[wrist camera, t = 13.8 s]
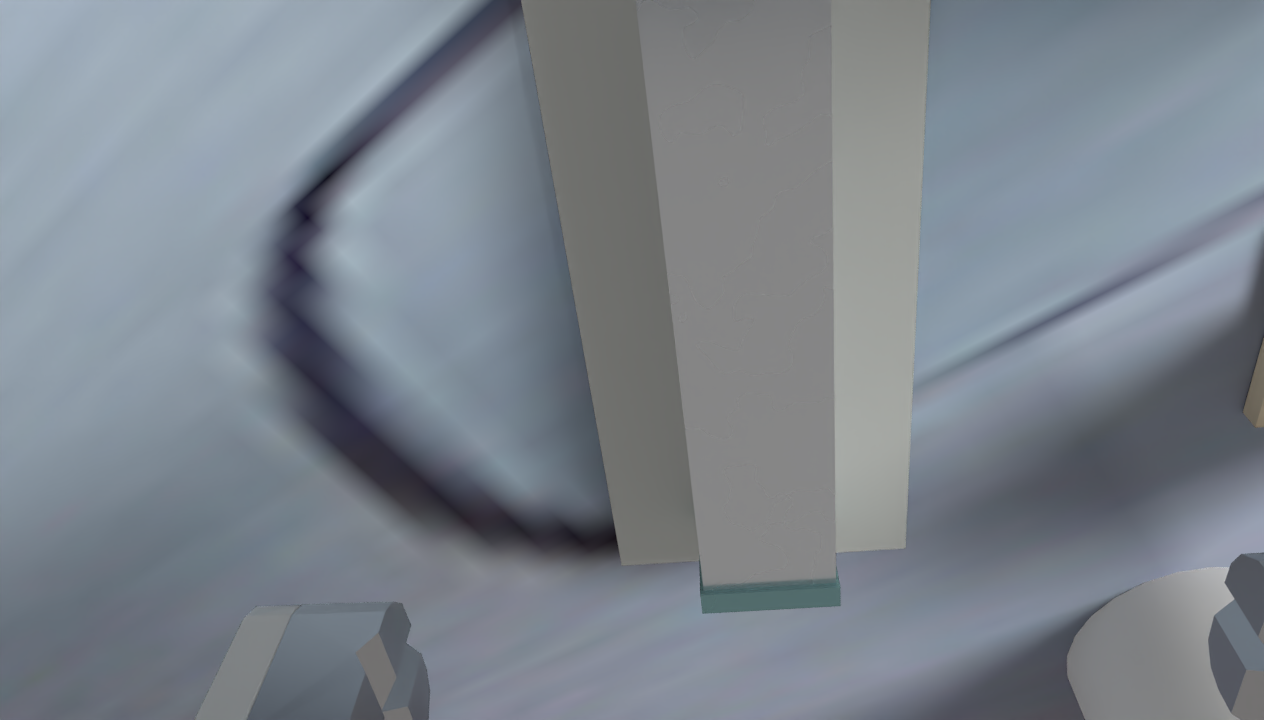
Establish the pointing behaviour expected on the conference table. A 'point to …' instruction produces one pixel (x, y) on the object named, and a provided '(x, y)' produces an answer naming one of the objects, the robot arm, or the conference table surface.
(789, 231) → the rail
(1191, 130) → the conference table surface
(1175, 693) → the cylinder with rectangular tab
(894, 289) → the pale gray flat board
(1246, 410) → the post
